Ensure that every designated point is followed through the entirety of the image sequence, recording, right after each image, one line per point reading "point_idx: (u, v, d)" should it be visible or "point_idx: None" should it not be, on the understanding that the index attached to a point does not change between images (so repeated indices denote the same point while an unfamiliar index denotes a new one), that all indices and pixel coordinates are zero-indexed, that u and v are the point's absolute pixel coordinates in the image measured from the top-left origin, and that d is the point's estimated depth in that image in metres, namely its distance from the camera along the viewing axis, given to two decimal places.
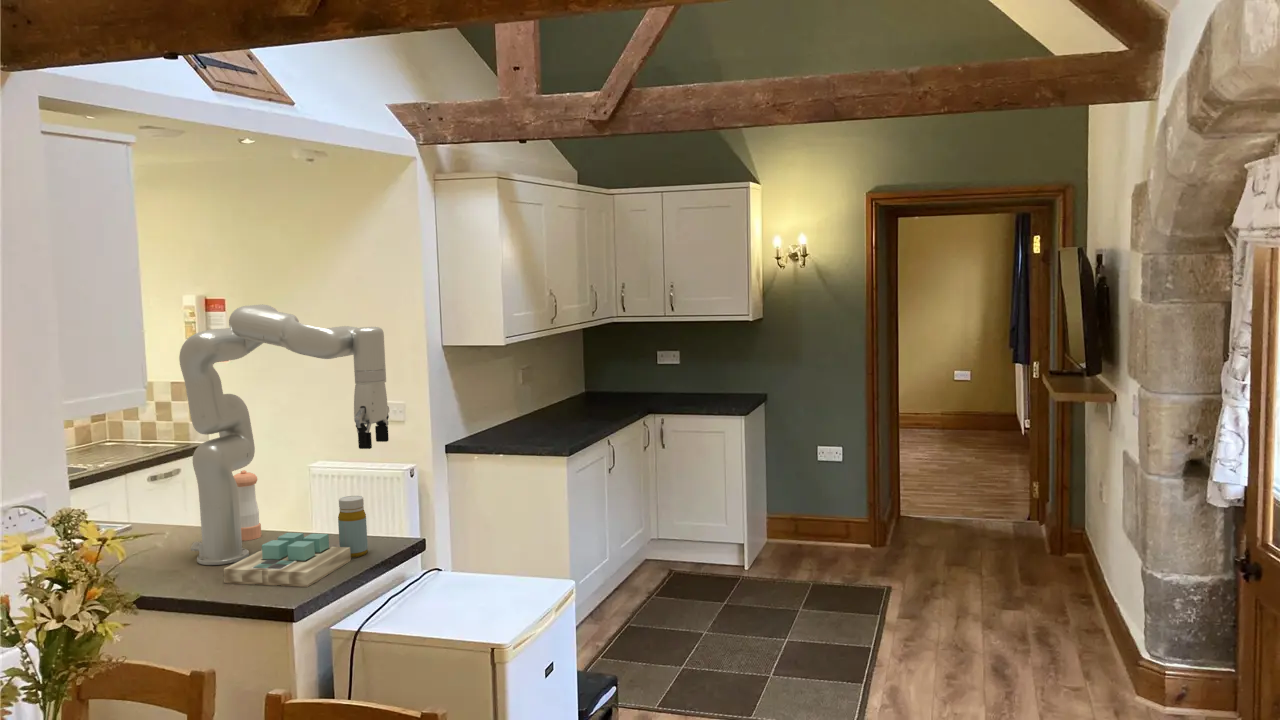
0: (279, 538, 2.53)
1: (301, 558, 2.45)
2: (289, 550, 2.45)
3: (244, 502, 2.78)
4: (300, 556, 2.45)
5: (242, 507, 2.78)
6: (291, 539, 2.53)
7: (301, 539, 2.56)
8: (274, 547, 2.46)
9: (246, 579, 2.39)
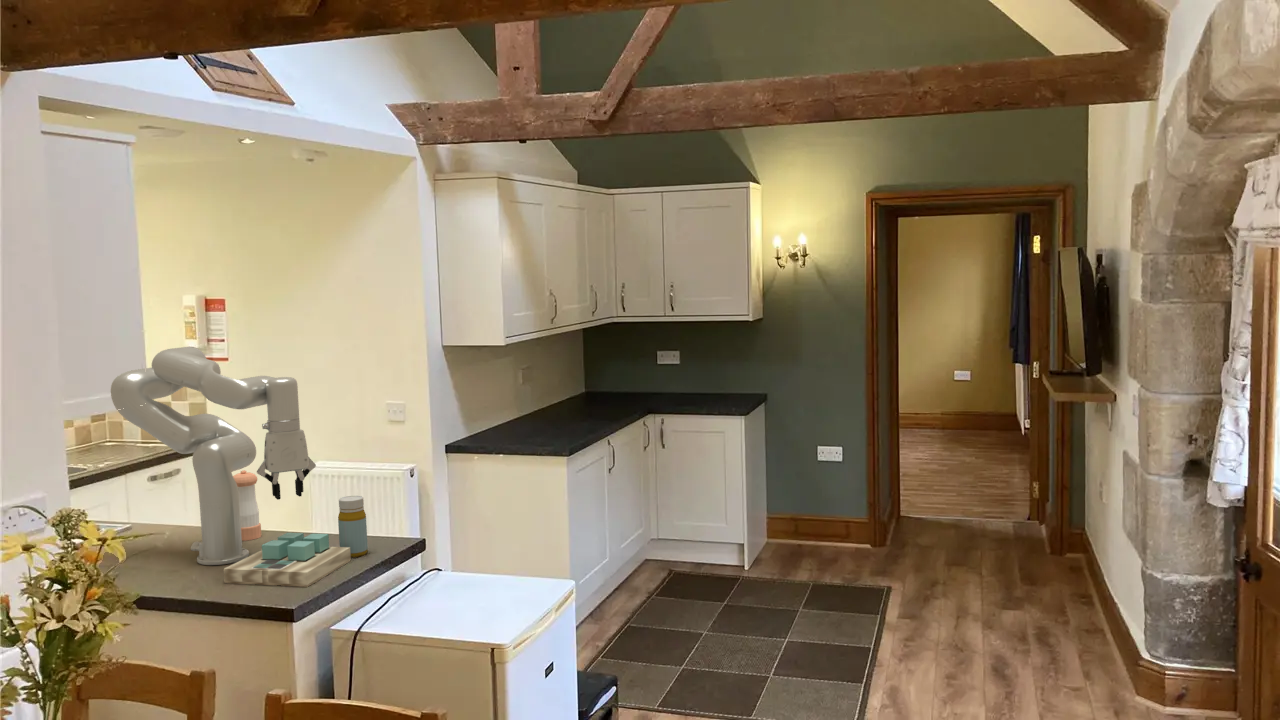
0: (279, 538, 2.53)
1: (301, 558, 2.45)
2: (289, 550, 2.45)
3: (244, 502, 2.78)
4: (300, 556, 2.45)
5: (242, 507, 2.78)
6: (291, 539, 2.53)
7: (301, 539, 2.56)
8: (274, 547, 2.46)
9: (246, 579, 2.39)
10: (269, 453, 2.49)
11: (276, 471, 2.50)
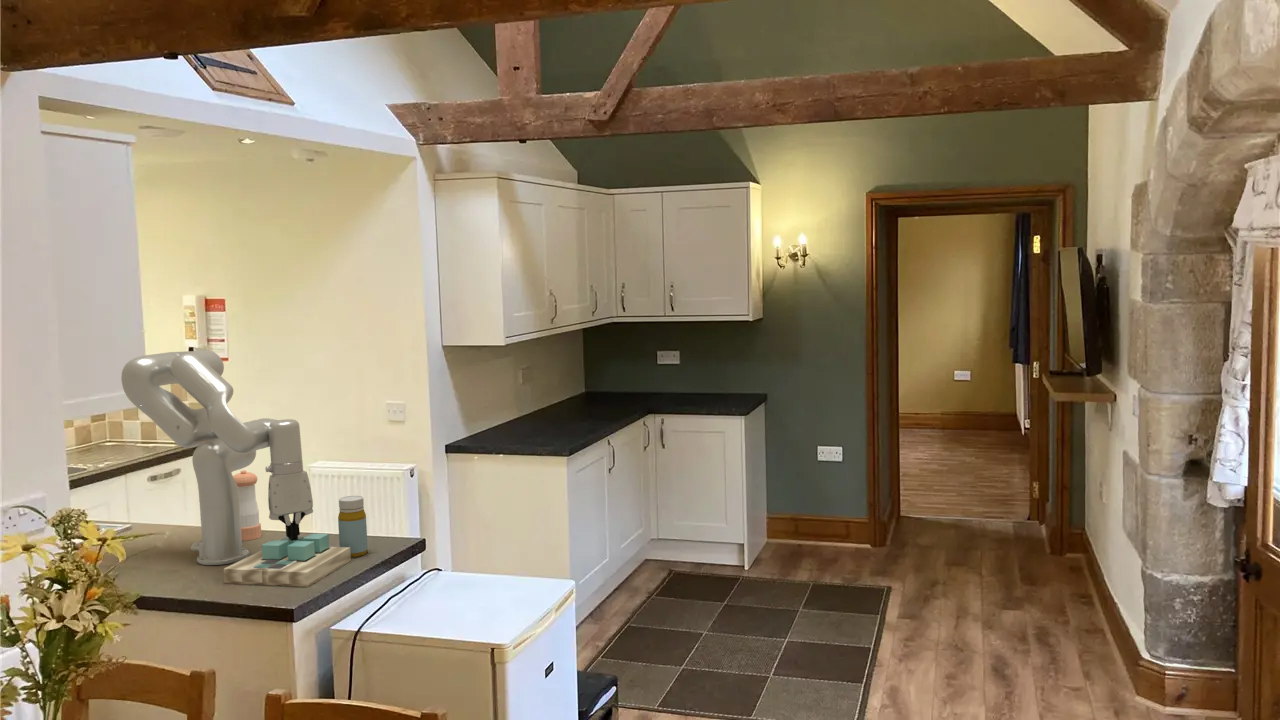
0: None
1: (301, 558, 2.45)
2: (289, 550, 2.45)
3: (244, 502, 2.78)
4: (300, 556, 2.45)
5: (242, 507, 2.78)
6: (291, 543, 2.53)
7: None
8: (274, 547, 2.46)
9: (246, 579, 2.39)
10: (273, 496, 2.50)
11: (280, 514, 2.51)
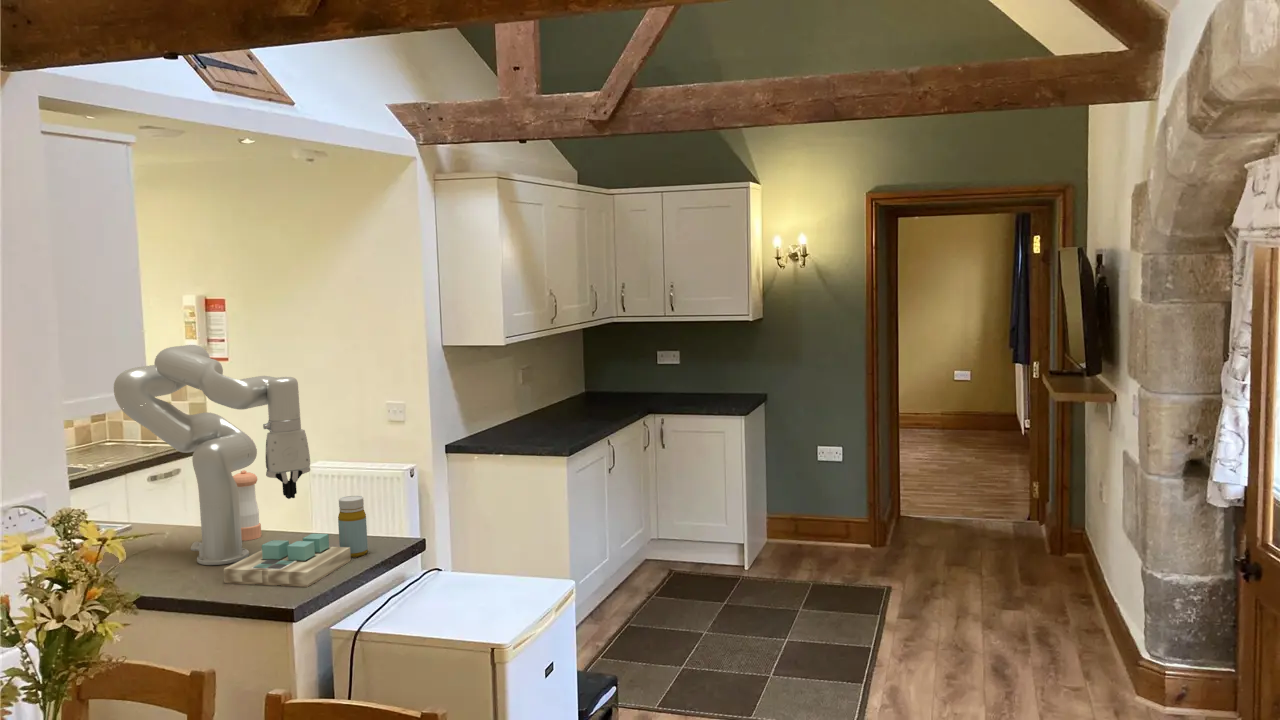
0: None
1: (301, 558, 2.45)
2: (289, 550, 2.45)
3: (244, 502, 2.78)
4: (300, 556, 2.45)
5: (242, 507, 2.78)
6: None
7: None
8: (274, 547, 2.46)
9: (246, 579, 2.39)
10: (271, 453, 2.48)
11: (278, 471, 2.49)
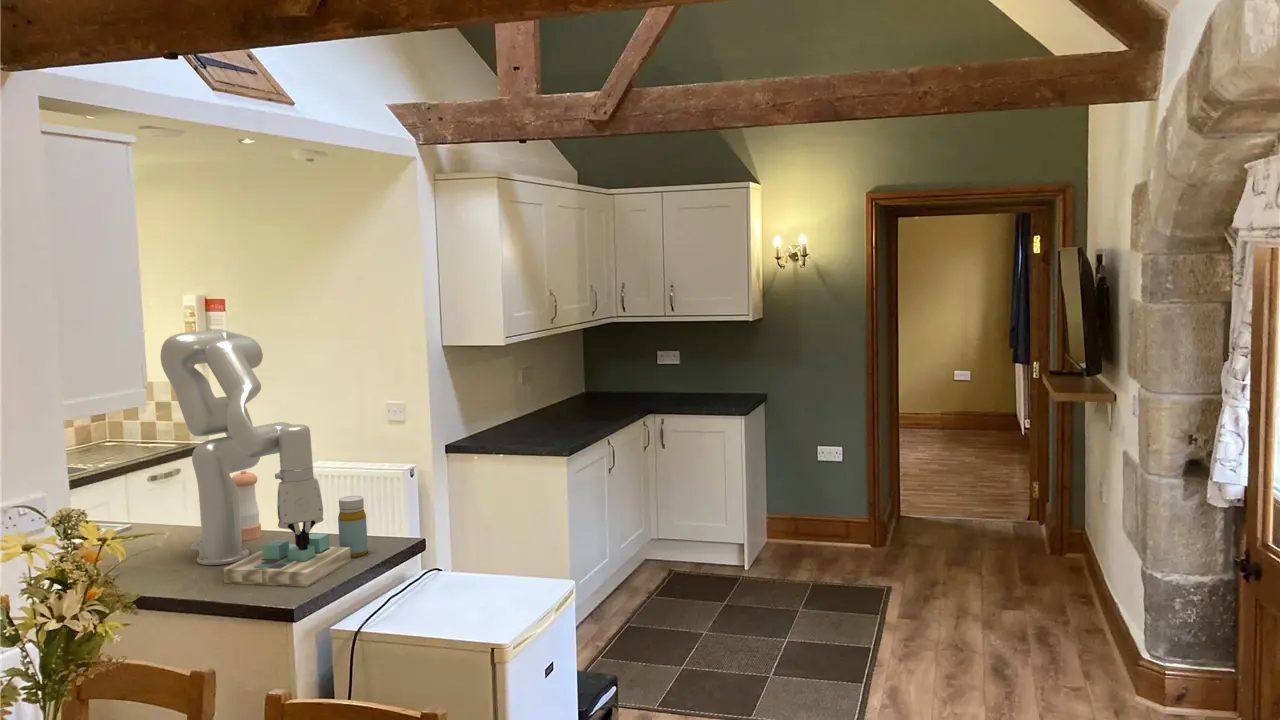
0: None
1: None
2: (289, 555, 2.45)
3: (244, 502, 2.78)
4: (300, 561, 2.45)
5: (242, 507, 2.78)
6: None
7: None
8: (274, 547, 2.46)
9: (246, 579, 2.39)
10: (282, 504, 2.41)
11: (290, 522, 2.42)
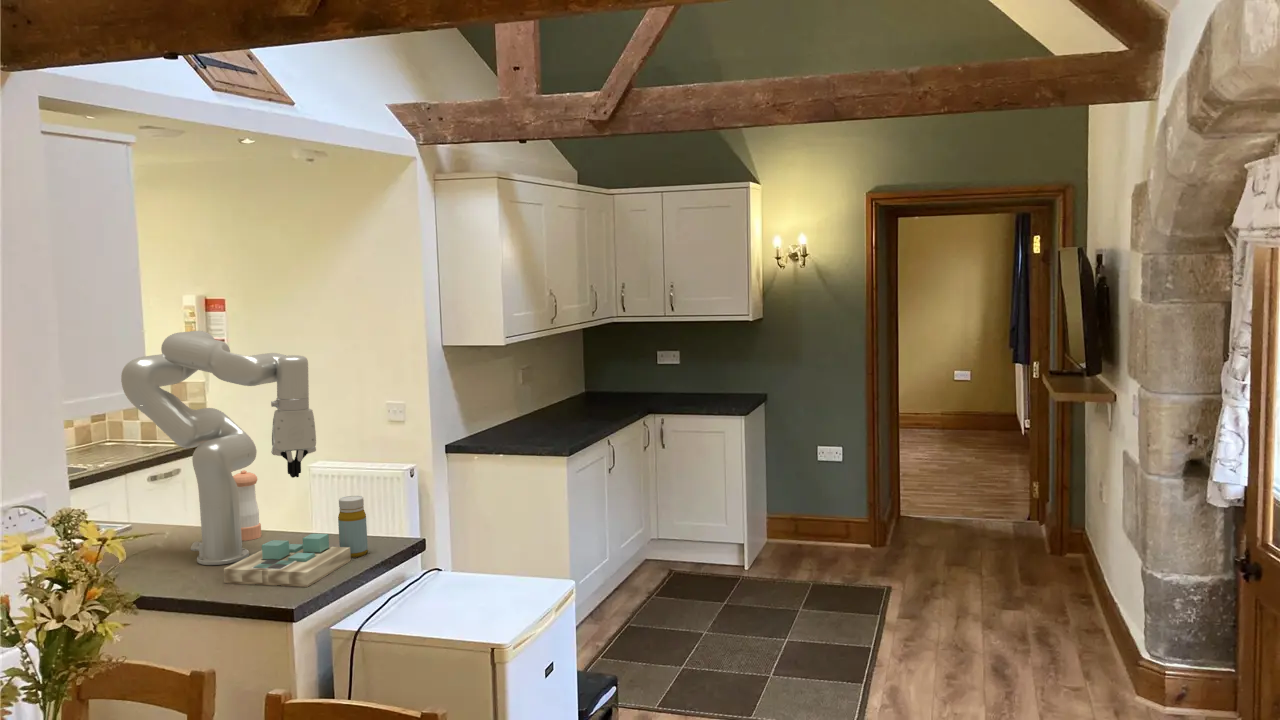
0: None
1: None
2: None
3: (244, 502, 2.78)
4: None
5: (242, 507, 2.78)
6: (292, 550, 2.53)
7: None
8: (274, 547, 2.46)
9: (246, 579, 2.39)
10: (276, 431, 2.47)
11: (283, 449, 2.48)
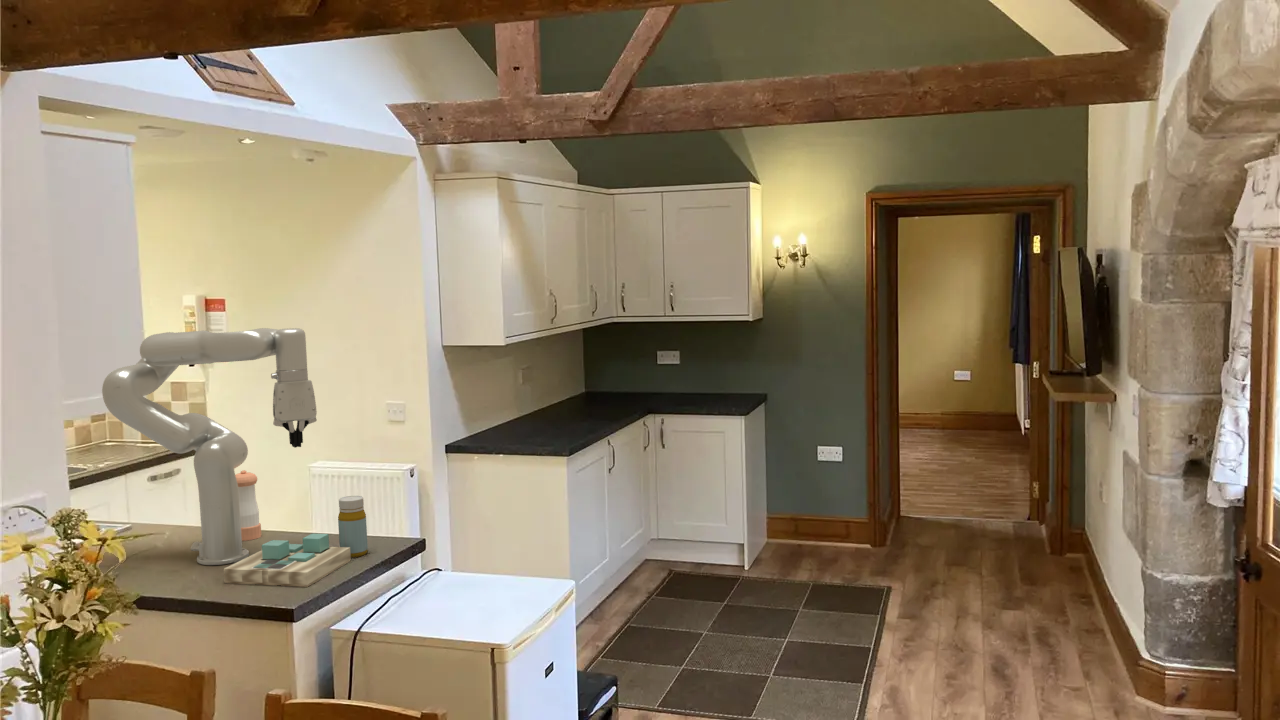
0: None
1: None
2: None
3: (244, 502, 2.78)
4: None
5: (242, 507, 2.78)
6: (292, 550, 2.53)
7: None
8: (274, 547, 2.46)
9: (246, 579, 2.39)
10: (278, 402, 2.53)
11: (285, 420, 2.54)
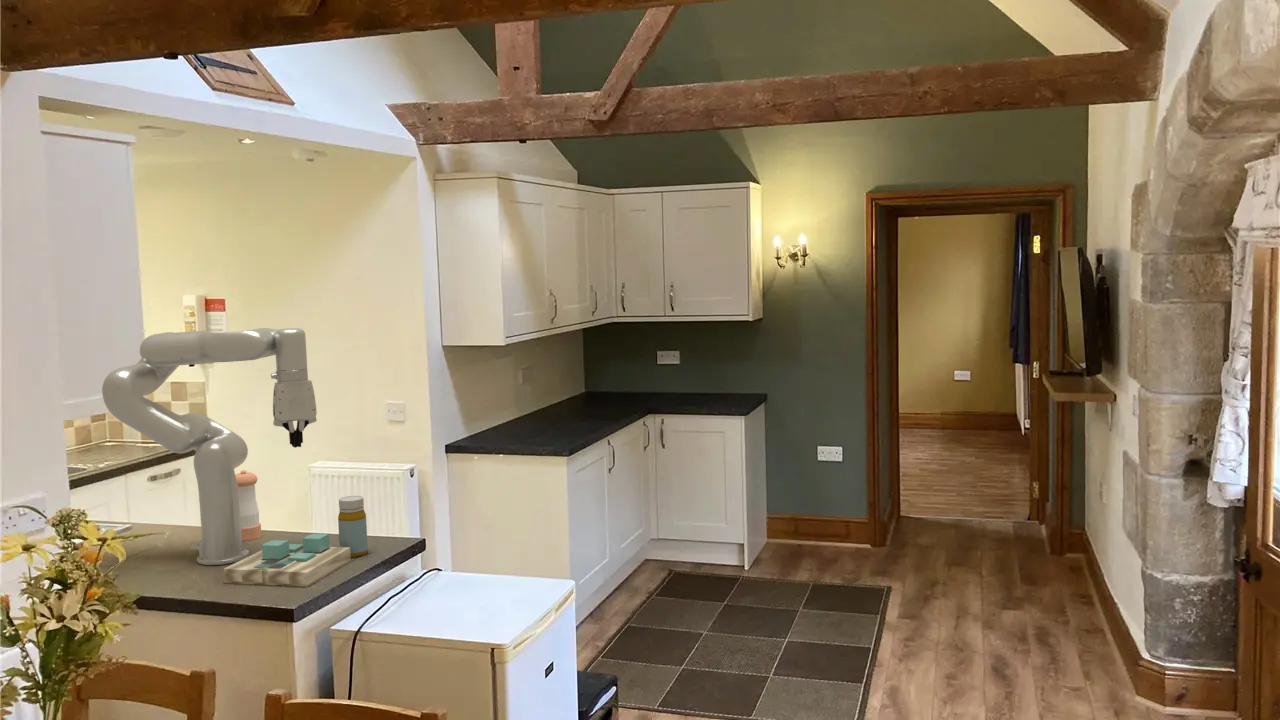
0: None
1: None
2: None
3: (244, 502, 2.78)
4: None
5: (242, 507, 2.78)
6: (292, 550, 2.53)
7: None
8: (274, 547, 2.46)
9: (246, 579, 2.39)
10: (278, 402, 2.53)
11: (285, 420, 2.54)
